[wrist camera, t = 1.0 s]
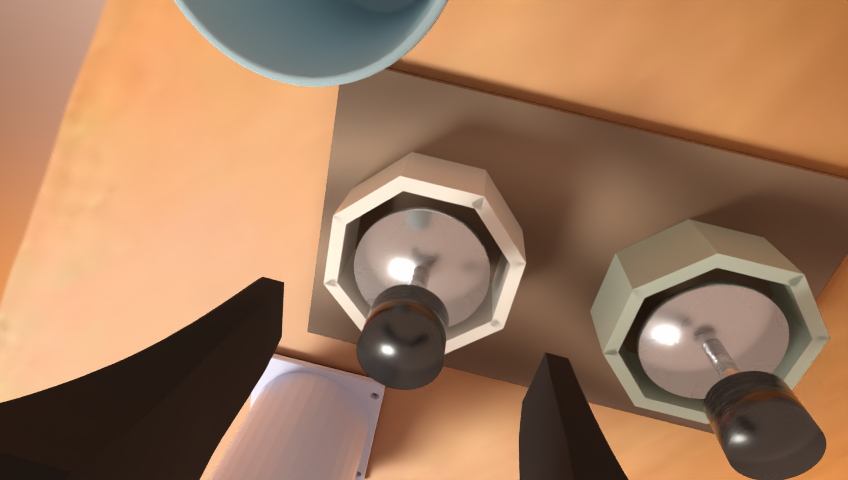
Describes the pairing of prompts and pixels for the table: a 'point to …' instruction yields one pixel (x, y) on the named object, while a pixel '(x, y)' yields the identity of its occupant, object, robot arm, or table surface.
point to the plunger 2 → (733, 375)
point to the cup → (313, 35)
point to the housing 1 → (440, 184)
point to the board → (569, 212)
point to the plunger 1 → (416, 292)
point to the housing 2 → (682, 260)
